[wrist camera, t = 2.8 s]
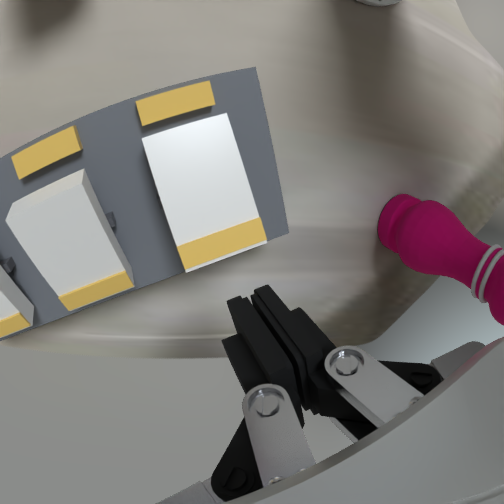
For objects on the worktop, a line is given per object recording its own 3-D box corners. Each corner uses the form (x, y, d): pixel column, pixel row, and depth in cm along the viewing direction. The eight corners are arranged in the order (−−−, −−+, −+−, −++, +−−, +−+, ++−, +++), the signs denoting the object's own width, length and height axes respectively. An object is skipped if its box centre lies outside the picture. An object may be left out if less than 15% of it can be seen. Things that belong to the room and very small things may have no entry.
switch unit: (-56, 200, 15) (-94, 226, 10) (231, 76, 20) (261, 64, 15) (0, 311, 20) (-20, 355, 15) (261, 210, 25) (295, 238, 20)
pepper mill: (379, 263, 33) (519, 371, 16) (367, 209, 29) (545, 316, 12) (421, 230, 33) (557, 314, 16) (413, 177, 30) (578, 254, 13)
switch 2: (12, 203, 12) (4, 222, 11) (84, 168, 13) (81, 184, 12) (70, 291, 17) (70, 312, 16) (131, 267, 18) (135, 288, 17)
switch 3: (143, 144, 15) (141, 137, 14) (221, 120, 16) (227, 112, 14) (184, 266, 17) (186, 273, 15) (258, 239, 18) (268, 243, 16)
